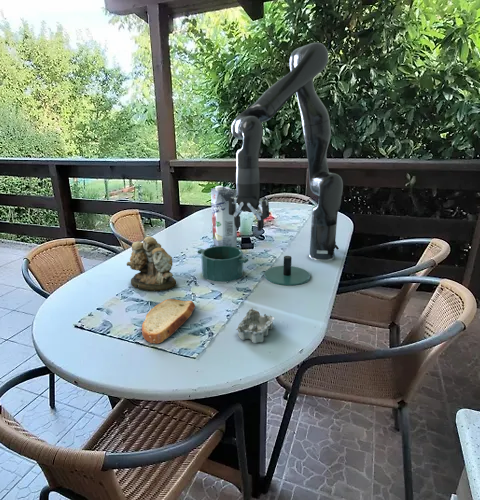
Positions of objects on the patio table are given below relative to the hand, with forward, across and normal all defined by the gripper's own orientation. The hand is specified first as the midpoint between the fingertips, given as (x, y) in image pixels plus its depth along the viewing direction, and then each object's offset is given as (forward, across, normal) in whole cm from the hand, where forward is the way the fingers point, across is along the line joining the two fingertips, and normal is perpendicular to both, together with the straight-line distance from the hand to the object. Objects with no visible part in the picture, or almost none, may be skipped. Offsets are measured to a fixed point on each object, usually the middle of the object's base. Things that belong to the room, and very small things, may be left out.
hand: (248, 228), depth 125 cm
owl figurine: (+17, +26, +23) cm, 39 cm away
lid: (+17, -12, -5) cm, 22 cm away
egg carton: (+18, -19, +31) cm, 40 cm away
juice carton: (+18, +24, -21) cm, 37 cm away
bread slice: (+17, +4, +39) cm, 43 cm away
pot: (+18, +9, +4) cm, 20 cm away
